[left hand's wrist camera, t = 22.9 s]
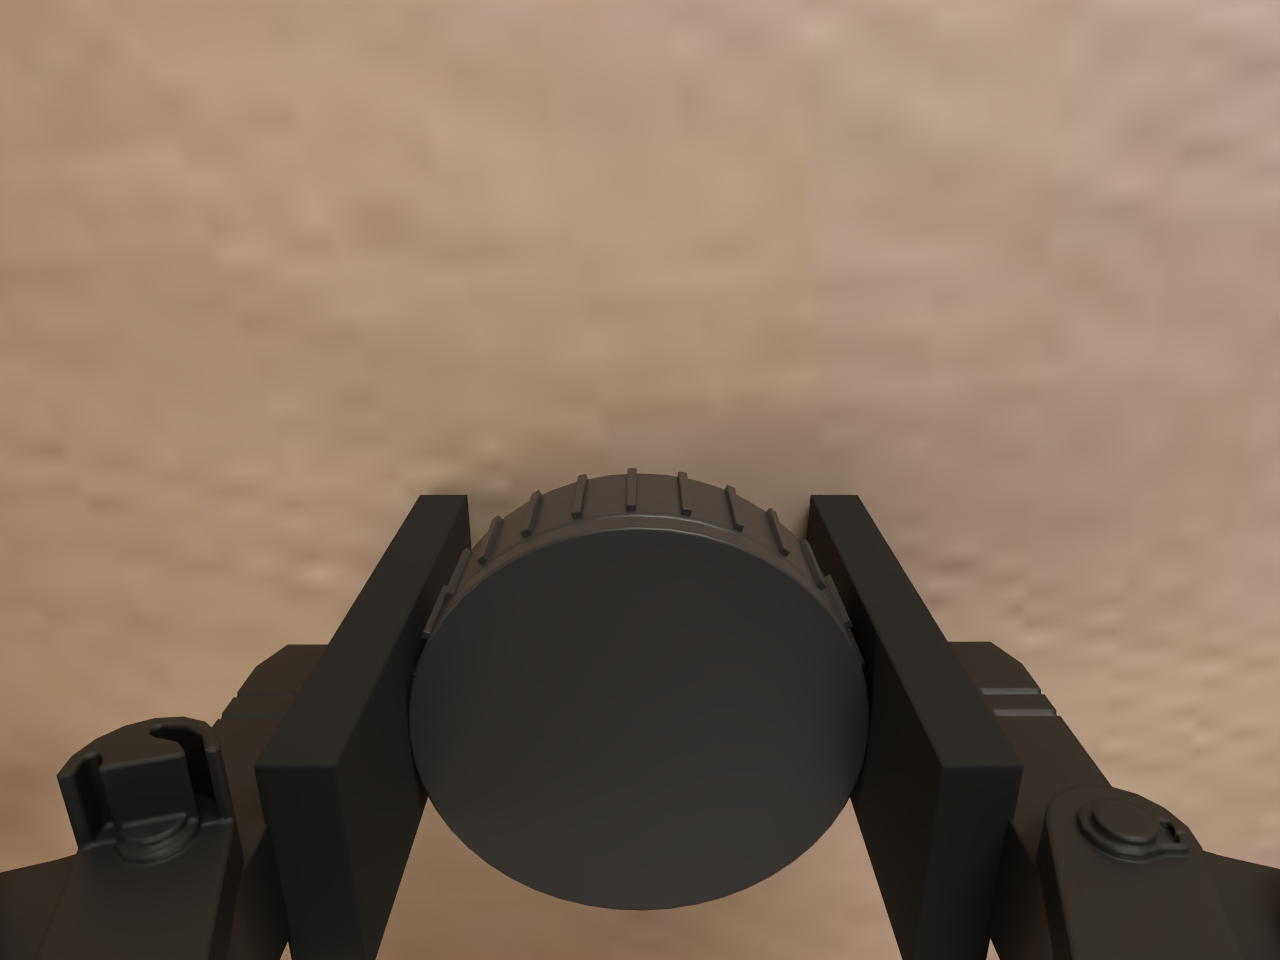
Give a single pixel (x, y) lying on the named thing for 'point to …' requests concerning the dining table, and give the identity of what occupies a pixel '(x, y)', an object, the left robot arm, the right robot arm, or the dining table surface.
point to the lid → (639, 694)
